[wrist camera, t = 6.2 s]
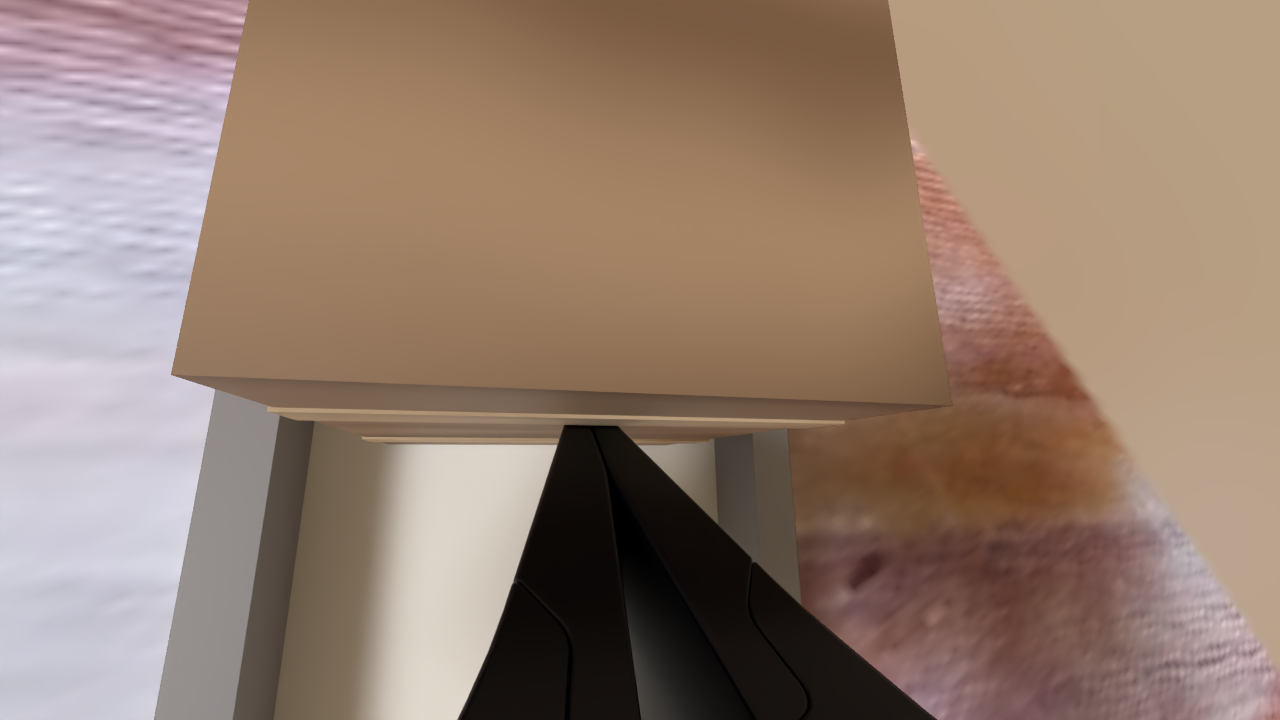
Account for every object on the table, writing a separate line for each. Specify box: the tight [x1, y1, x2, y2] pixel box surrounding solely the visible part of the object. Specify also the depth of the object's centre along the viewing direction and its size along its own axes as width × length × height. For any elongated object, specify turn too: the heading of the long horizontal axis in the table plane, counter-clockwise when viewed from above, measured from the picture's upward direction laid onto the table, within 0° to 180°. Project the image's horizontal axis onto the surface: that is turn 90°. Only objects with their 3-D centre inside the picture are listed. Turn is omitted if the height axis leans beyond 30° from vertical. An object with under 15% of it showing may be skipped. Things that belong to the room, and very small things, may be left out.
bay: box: [154, 389, 802, 720], centre depth 12 cm, size 20×14×5 cm
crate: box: [171, 0, 952, 445], centre depth 10 cm, size 7×8×10 cm
